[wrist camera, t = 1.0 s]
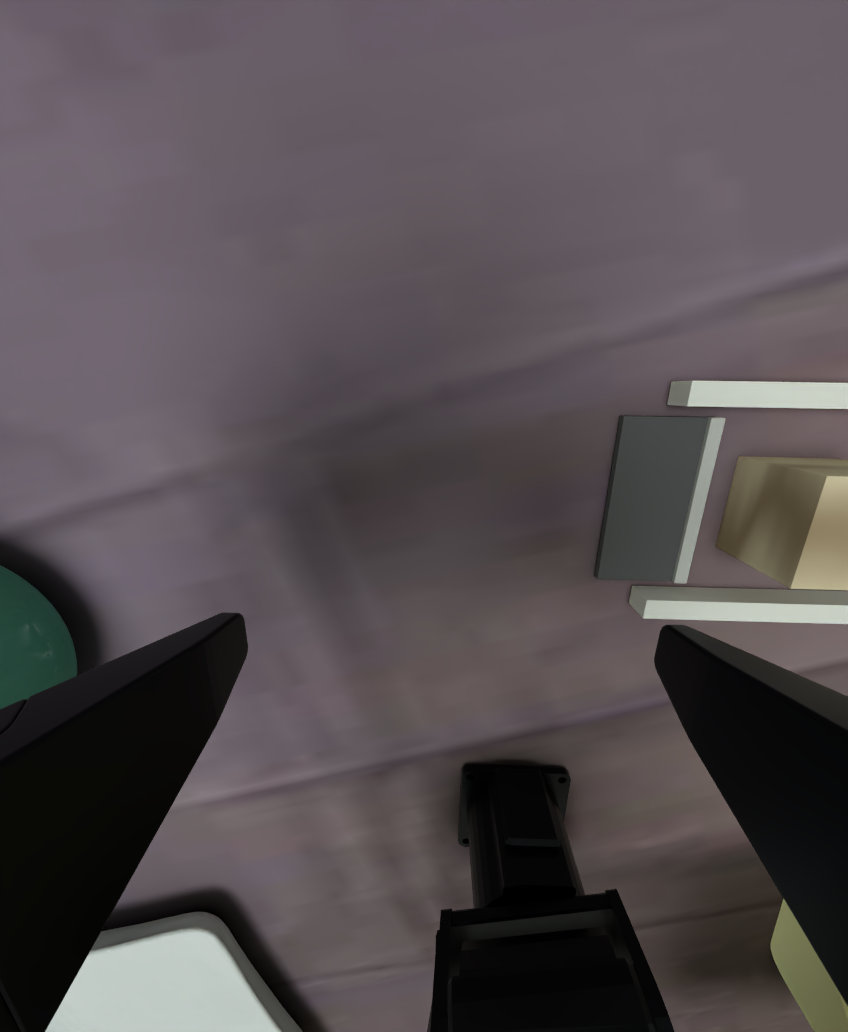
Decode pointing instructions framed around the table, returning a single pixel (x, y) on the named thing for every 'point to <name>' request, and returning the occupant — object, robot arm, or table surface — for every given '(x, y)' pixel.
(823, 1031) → the slatted curved stool
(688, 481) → the pad
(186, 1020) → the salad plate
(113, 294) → the table surface
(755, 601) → the guide rails
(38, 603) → the mug
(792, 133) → the table surface
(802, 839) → the robot arm
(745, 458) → the maple block
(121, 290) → the table surface
